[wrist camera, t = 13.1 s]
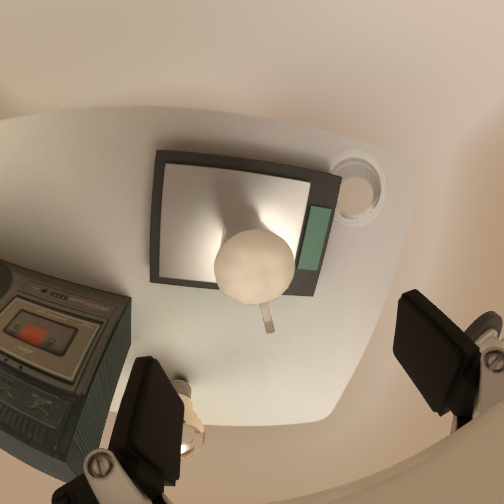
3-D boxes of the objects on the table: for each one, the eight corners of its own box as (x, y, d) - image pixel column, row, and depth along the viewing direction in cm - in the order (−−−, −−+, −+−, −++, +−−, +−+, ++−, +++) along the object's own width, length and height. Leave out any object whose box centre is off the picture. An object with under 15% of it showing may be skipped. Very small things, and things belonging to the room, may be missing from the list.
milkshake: (225, 267, 24) (230, 342, 14) (210, 208, 22) (202, 255, 12) (276, 255, 24) (310, 322, 15) (264, 195, 22) (298, 233, 13)
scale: (331, 174, 25) (344, 177, 22) (306, 285, 29) (315, 299, 26) (162, 149, 22) (154, 150, 19) (155, 271, 26) (148, 285, 24)
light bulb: (195, 401, 34) (193, 472, 23) (149, 387, 33) (136, 458, 22) (213, 374, 32) (214, 453, 21) (162, 357, 31) (147, 437, 20)
